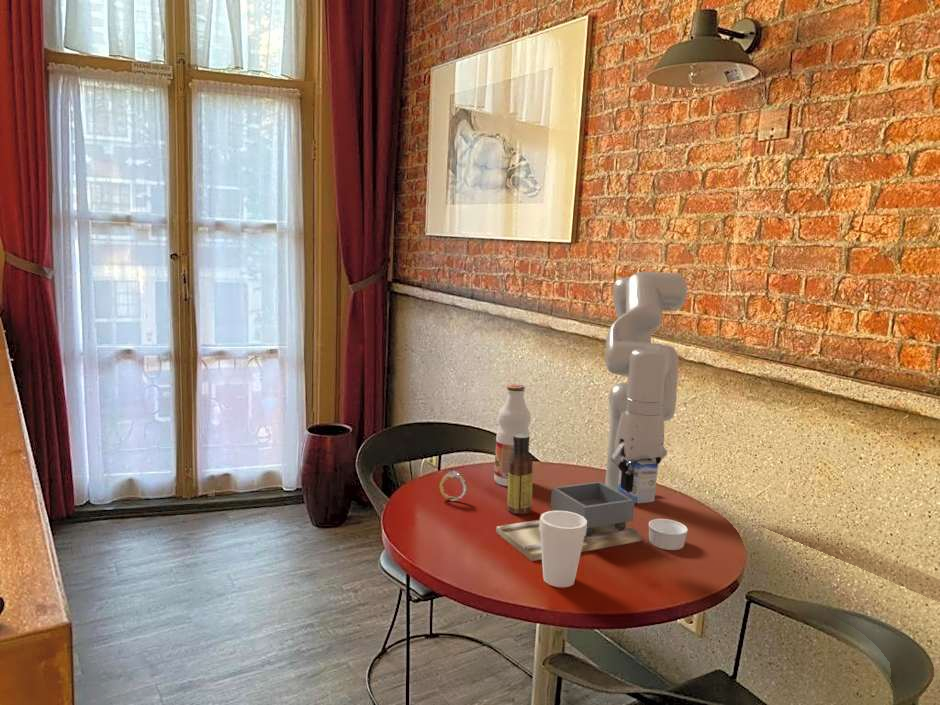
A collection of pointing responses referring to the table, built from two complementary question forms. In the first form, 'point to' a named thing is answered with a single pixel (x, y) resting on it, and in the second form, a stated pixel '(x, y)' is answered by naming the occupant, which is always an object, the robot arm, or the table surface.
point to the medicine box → (642, 481)
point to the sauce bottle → (520, 476)
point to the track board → (529, 540)
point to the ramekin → (667, 534)
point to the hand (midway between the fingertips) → (636, 487)
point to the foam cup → (561, 546)
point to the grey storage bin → (594, 504)
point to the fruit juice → (510, 430)
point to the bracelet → (453, 475)
